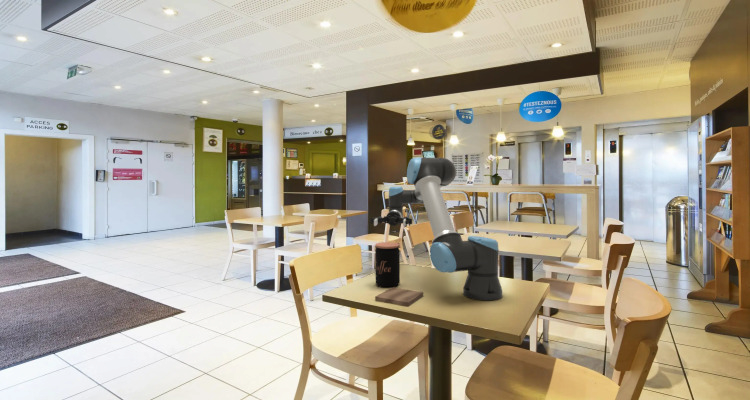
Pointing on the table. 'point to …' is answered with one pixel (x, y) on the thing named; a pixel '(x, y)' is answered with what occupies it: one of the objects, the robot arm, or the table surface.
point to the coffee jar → (387, 264)
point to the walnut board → (399, 296)
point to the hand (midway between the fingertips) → (389, 223)
